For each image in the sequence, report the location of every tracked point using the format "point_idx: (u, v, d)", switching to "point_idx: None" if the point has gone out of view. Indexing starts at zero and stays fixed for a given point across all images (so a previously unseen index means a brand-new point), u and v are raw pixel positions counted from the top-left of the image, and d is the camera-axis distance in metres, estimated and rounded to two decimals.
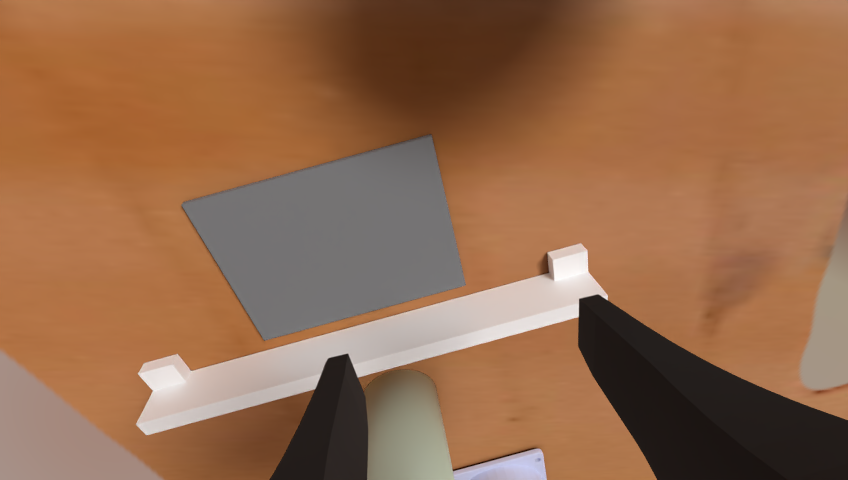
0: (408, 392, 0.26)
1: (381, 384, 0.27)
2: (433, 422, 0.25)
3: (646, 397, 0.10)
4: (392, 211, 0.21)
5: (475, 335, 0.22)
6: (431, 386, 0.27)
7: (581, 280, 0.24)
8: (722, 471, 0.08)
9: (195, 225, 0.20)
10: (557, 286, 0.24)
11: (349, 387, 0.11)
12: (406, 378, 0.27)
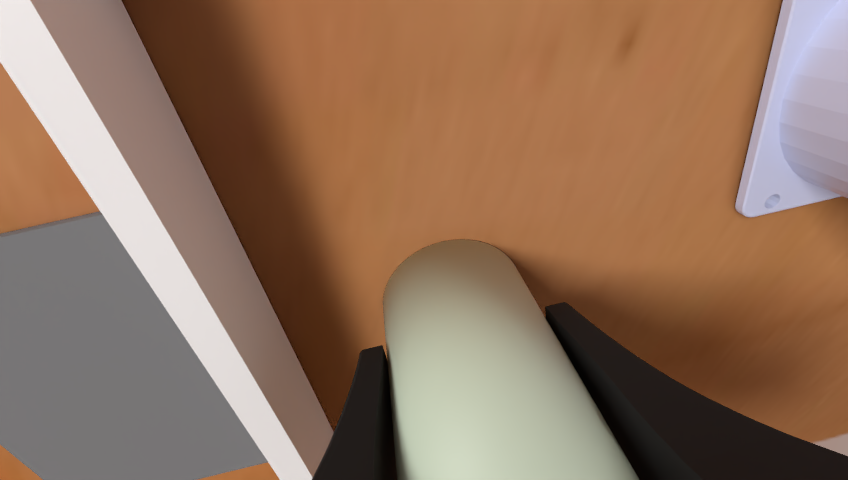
0: (386, 330, 0.13)
1: None
2: (416, 340, 0.11)
3: (604, 407, 0.10)
4: None
5: (147, 258, 0.09)
6: (416, 266, 0.13)
7: None
8: None
9: None
10: None
11: (385, 378, 0.11)
12: (384, 307, 0.14)
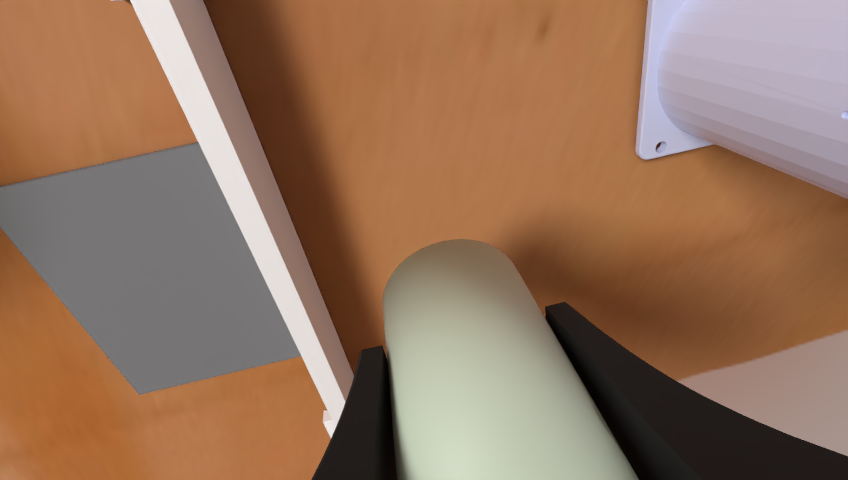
0: (386, 329, 0.13)
1: None
2: (416, 340, 0.11)
3: (604, 407, 0.10)
4: (97, 235, 0.18)
5: (220, 167, 0.14)
6: (415, 266, 0.13)
7: None
8: None
9: (159, 388, 0.22)
10: None
11: (385, 378, 0.11)
12: (384, 307, 0.14)
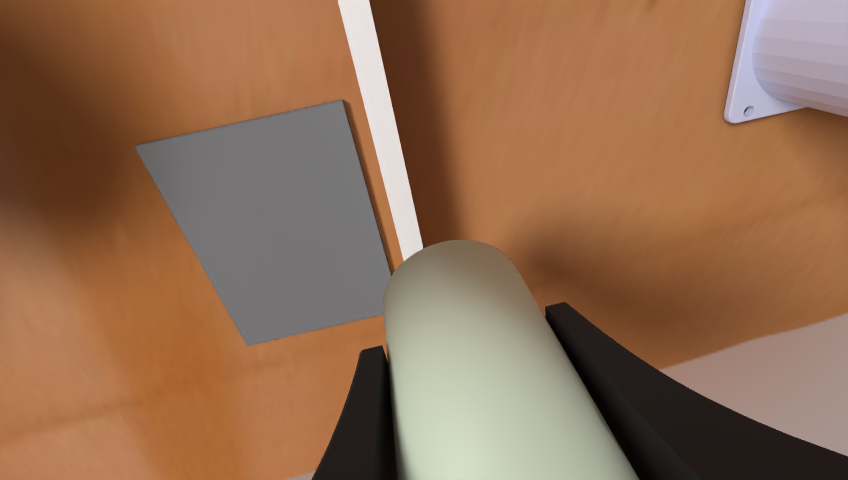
0: (387, 330, 0.13)
1: None
2: (416, 340, 0.11)
3: (604, 407, 0.10)
4: (235, 188, 0.19)
5: (375, 117, 0.16)
6: (416, 266, 0.13)
7: None
8: None
9: (266, 340, 0.24)
10: None
11: (385, 378, 0.11)
12: (385, 308, 0.14)
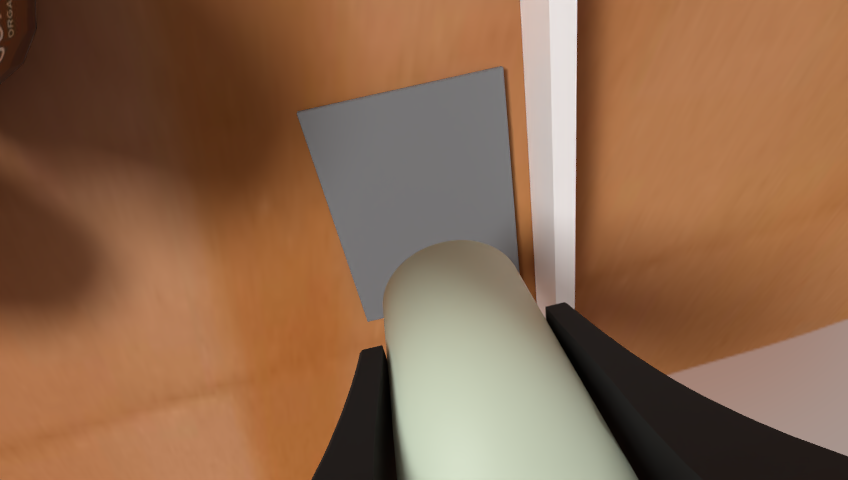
0: (386, 331, 0.13)
1: None
2: (416, 341, 0.11)
3: (604, 407, 0.10)
4: (385, 157, 0.19)
5: (558, 79, 0.16)
6: (416, 267, 0.13)
7: None
8: None
9: None
10: None
11: (385, 378, 0.11)
12: (384, 308, 0.14)
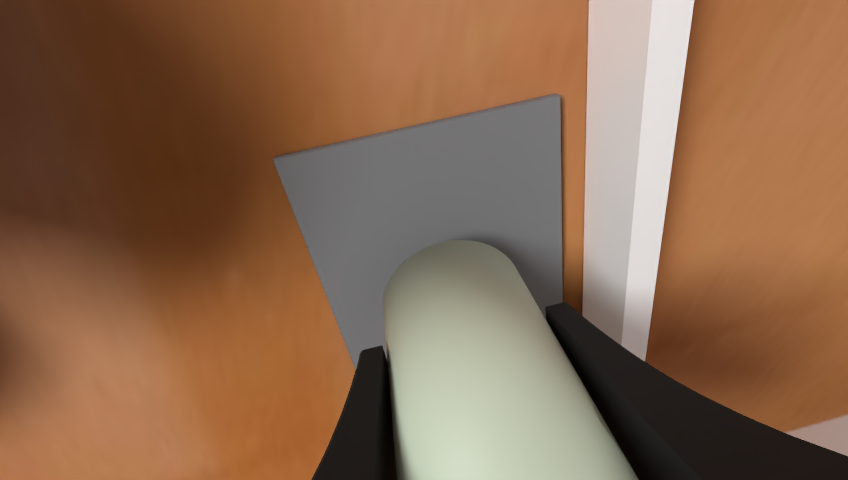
0: (386, 331, 0.13)
1: None
2: (415, 341, 0.11)
3: (604, 407, 0.10)
4: (396, 215, 0.14)
5: (652, 118, 0.11)
6: (415, 267, 0.13)
7: None
8: None
9: None
10: None
11: (385, 378, 0.11)
12: (385, 308, 0.14)
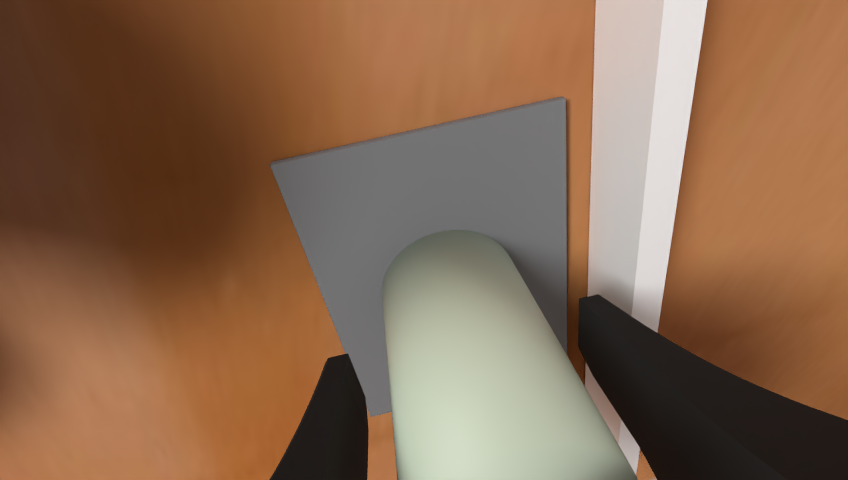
0: (385, 316, 0.13)
1: None
2: (413, 323, 0.11)
3: (646, 397, 0.10)
4: (396, 221, 0.14)
5: (662, 123, 0.10)
6: (413, 255, 0.14)
7: None
8: (722, 471, 0.08)
9: None
10: None
11: (349, 387, 0.11)
12: (384, 295, 0.14)
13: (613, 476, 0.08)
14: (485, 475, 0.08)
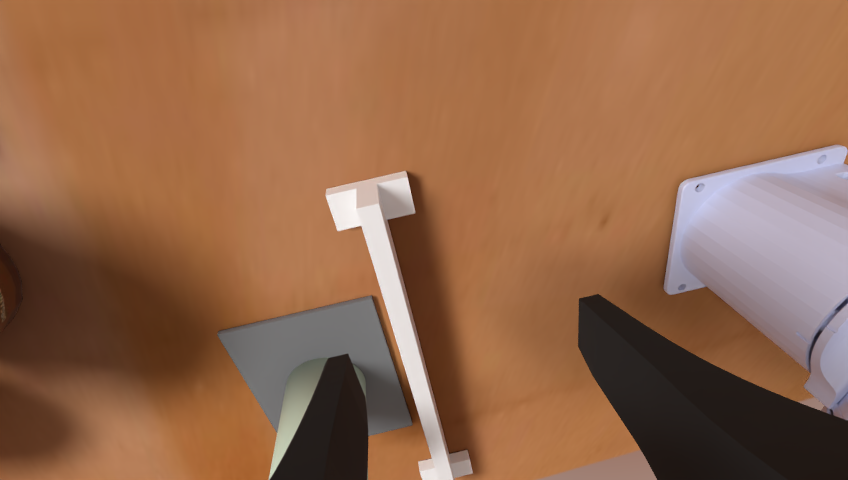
0: None
1: None
2: (286, 419, 0.23)
3: (646, 397, 0.10)
4: (289, 355, 0.25)
5: (399, 329, 0.22)
6: (298, 374, 0.25)
7: None
8: (722, 471, 0.08)
9: None
10: None
11: (349, 387, 0.11)
12: None
13: None
14: None
